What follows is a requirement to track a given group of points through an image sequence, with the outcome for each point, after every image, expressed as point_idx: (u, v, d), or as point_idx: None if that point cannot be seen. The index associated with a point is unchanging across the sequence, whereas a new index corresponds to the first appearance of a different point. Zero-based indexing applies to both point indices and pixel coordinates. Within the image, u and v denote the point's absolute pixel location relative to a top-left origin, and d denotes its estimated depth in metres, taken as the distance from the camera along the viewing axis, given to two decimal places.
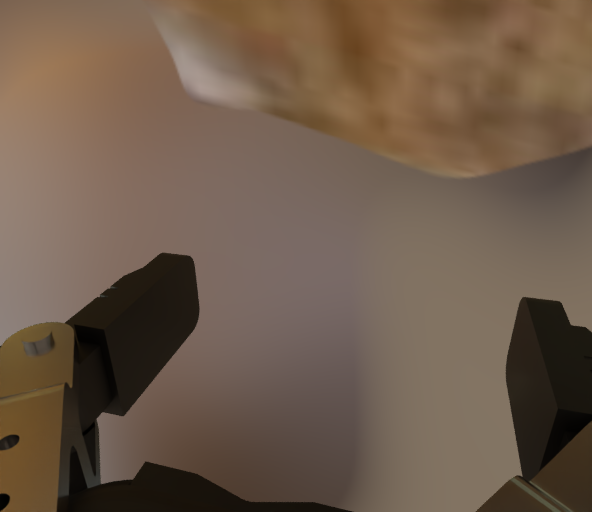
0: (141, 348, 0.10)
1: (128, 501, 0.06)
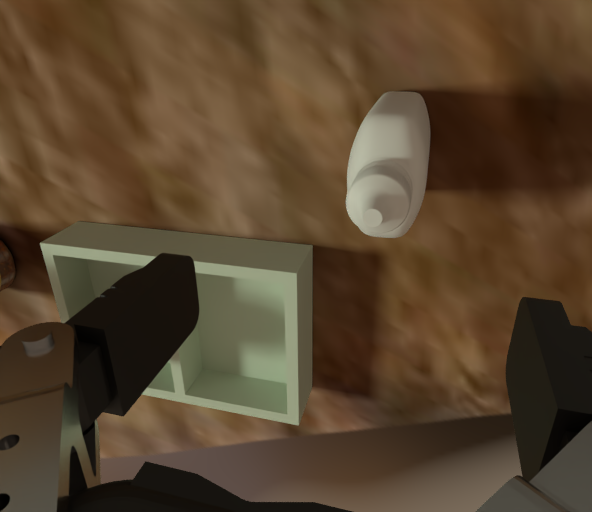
0: (141, 348, 0.10)
1: (128, 501, 0.06)
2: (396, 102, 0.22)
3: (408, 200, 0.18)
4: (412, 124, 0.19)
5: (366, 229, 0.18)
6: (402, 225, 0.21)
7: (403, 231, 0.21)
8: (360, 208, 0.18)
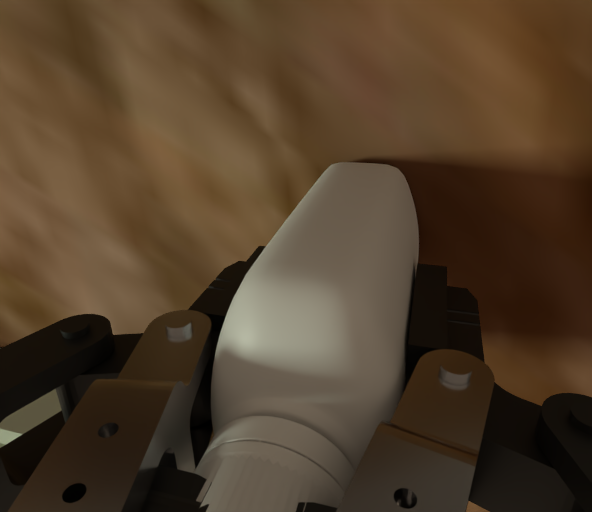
0: None
1: None
2: (338, 211, 0.10)
3: None
4: (358, 311, 0.07)
5: None
6: None
7: None
8: None
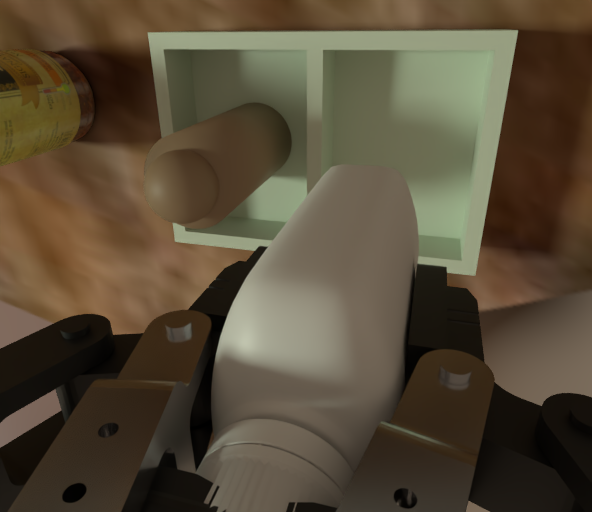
0: None
1: None
2: (338, 214, 0.10)
3: None
4: (358, 314, 0.07)
5: None
6: None
7: None
8: None
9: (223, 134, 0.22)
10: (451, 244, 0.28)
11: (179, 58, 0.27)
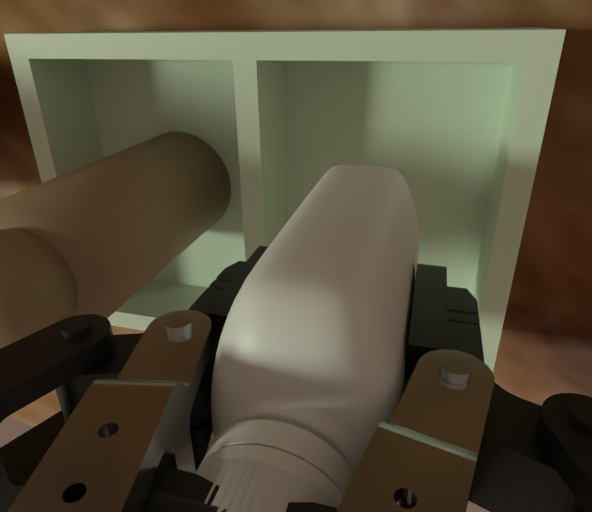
0: None
1: None
2: (338, 215, 0.10)
3: None
4: (357, 314, 0.07)
5: None
6: None
7: None
8: None
9: (89, 197, 0.13)
10: None
11: (63, 70, 0.19)
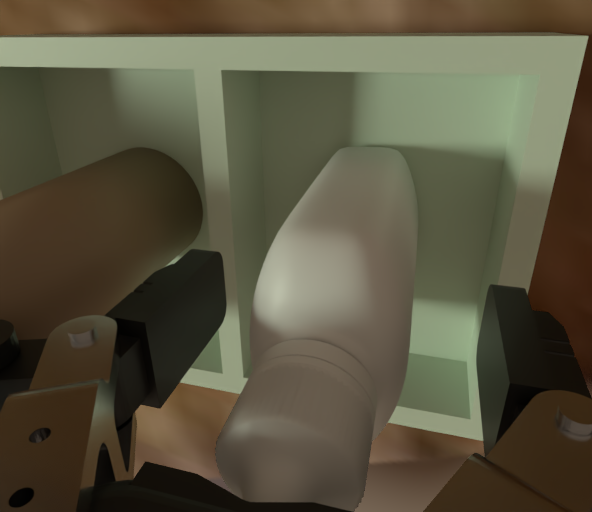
0: (177, 342, 0.11)
1: (128, 501, 0.06)
2: (350, 183, 0.12)
3: (359, 476, 0.07)
4: (374, 254, 0.09)
5: None
6: None
7: None
8: (242, 495, 0.07)
9: (16, 234, 0.11)
10: (453, 375, 0.17)
11: (10, 79, 0.16)
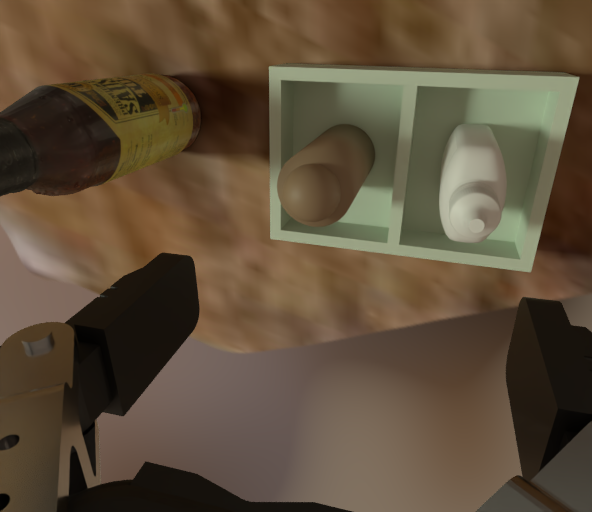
0: (141, 348, 0.10)
1: (128, 501, 0.06)
2: (477, 134, 0.27)
3: (500, 213, 0.23)
4: (497, 154, 0.25)
5: (464, 235, 0.24)
6: None
7: (484, 238, 0.27)
8: (463, 218, 0.23)
9: (341, 151, 0.27)
10: (508, 246, 0.33)
11: (288, 86, 0.32)
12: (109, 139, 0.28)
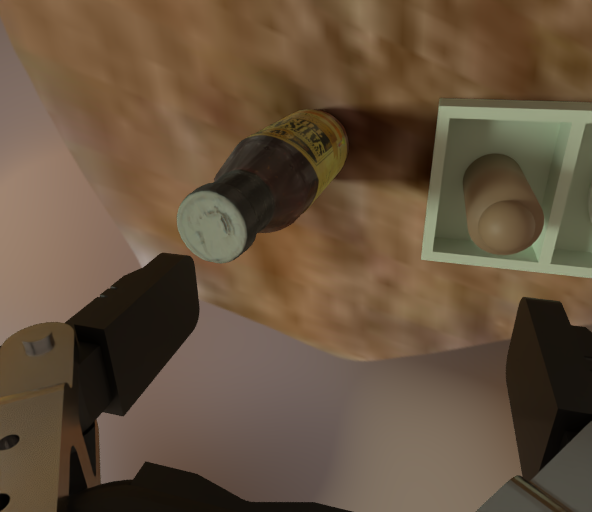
0: (141, 348, 0.10)
1: (128, 501, 0.06)
2: None
3: None
4: None
5: None
6: None
7: None
8: None
9: (526, 187, 0.30)
10: None
11: None
12: (313, 181, 0.31)
